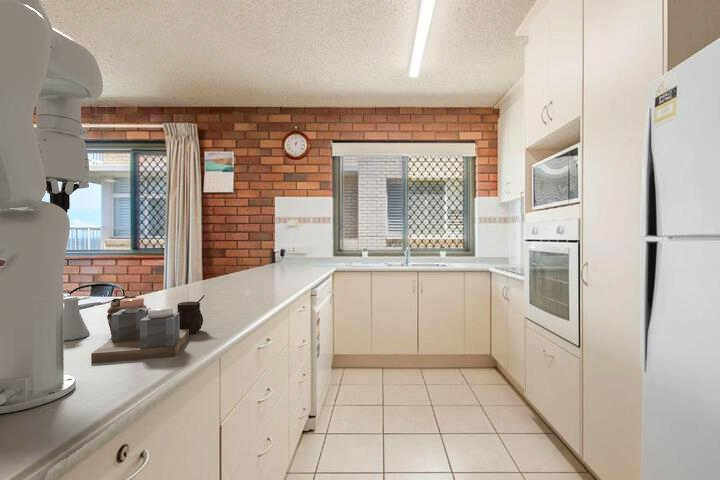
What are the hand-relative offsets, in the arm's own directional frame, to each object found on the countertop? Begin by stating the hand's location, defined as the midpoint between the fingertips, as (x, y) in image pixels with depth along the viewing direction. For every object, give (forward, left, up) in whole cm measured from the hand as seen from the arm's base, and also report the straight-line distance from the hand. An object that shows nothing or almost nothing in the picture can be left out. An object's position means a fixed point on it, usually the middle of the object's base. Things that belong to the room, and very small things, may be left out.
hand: (59, 212), depth 78 cm
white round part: (-5, -21, -27) cm, 35 cm away
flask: (+14, +4, -31) cm, 35 cm away
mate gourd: (+11, -24, -31) cm, 41 cm away
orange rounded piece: (+3, -13, -26) cm, 29 cm away
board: (-1, -17, -31) cm, 35 cm away
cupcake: (+14, -9, -31) cm, 36 cm away
